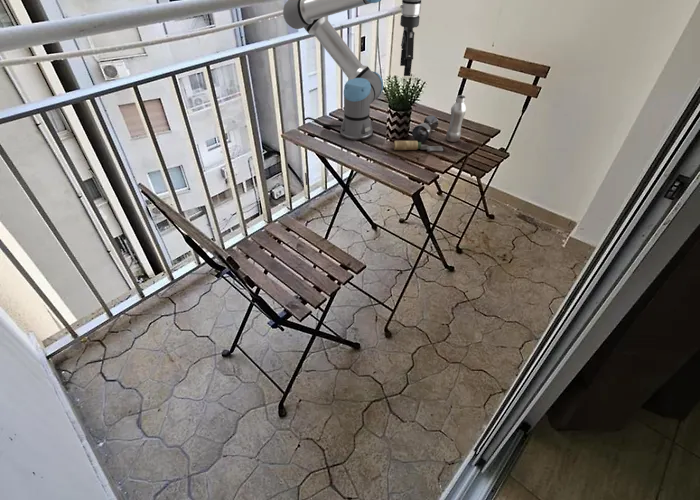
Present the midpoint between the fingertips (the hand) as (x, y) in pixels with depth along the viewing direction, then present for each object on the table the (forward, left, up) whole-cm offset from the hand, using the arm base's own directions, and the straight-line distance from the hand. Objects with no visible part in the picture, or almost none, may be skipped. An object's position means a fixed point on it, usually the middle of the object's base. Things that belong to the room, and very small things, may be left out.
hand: (405, 70), depth 170 cm
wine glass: (+14, +4, -23) cm, 27 cm away
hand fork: (+13, -18, -27) cm, 35 cm away
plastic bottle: (+26, -4, -27) cm, 38 cm away
